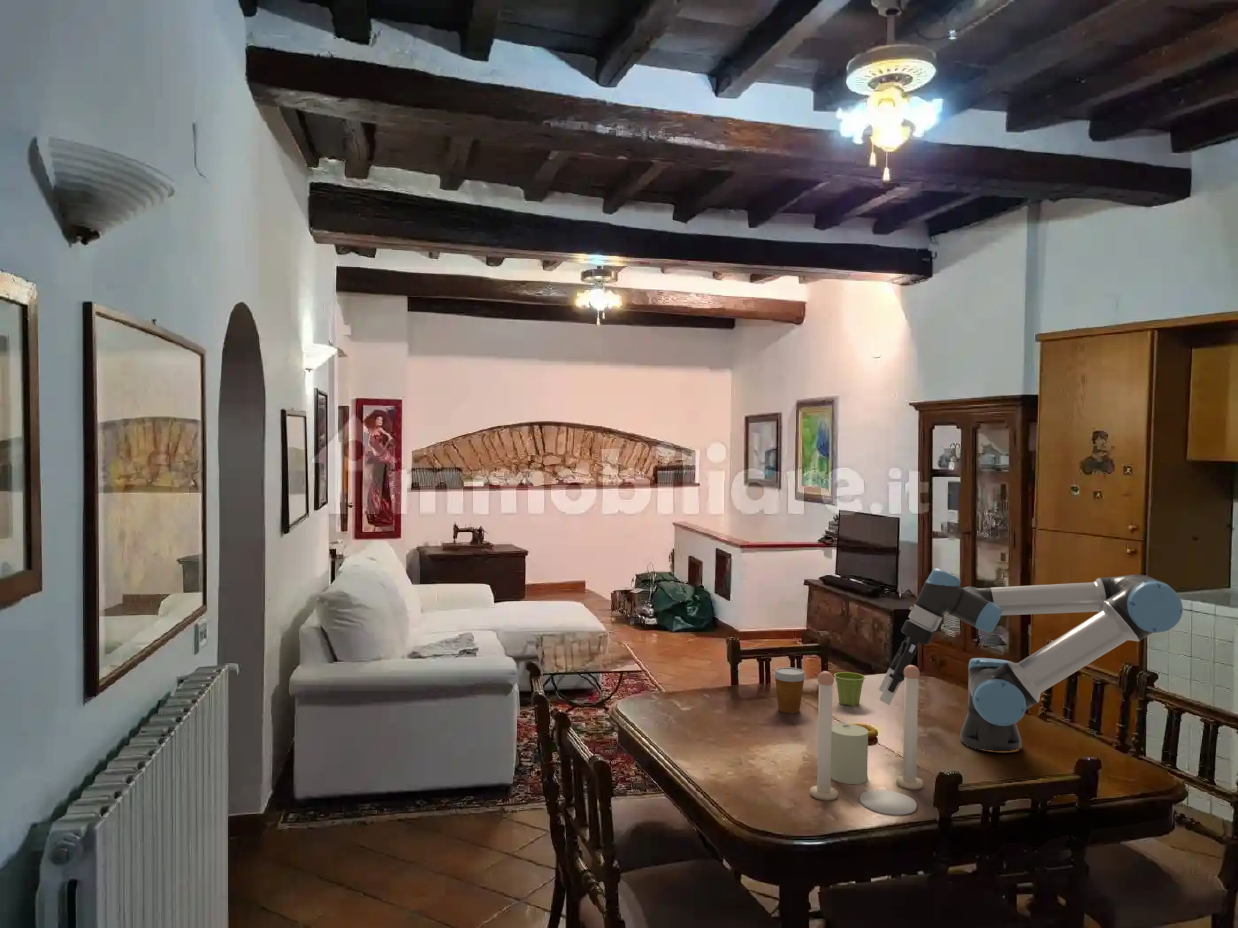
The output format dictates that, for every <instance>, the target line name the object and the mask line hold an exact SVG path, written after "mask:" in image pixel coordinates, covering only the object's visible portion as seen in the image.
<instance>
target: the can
mask: <svg viewBox="0 0 1238 928" xmlns="http://www.w3.org/2000/svg"><path fill="white" fill-rule="evenodd" d="M868 746H869V730H868V729H867V728H866V727H864V726H861V725H858V724H853V723H835V724H832V737H831V780H832V781H835V782H838V783H840V784H846V785H859V784H860V785H861V784H864V783H866V782H868V780H869V777H868V753H869V749H868V748H869V747H868Z"/></svg>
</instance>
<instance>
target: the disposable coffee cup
mask: <svg viewBox="0 0 1238 928" xmlns="http://www.w3.org/2000/svg"><path fill="white" fill-rule="evenodd" d="M773 677H774V678H775V680H774V681H775V688H776V697H777V698H776V699H777V707H778V711H780V712H781V713H785V714H796V713H800V711H801V705H802V704H801V703H802V697H803V689H804V683H805V682H804V681H805V679H806V677H807V676H806V674H805V671H804V670H803V669H801V668H796V667H787V666H785V667H777V668H775V670H774V673H773Z"/></svg>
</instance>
